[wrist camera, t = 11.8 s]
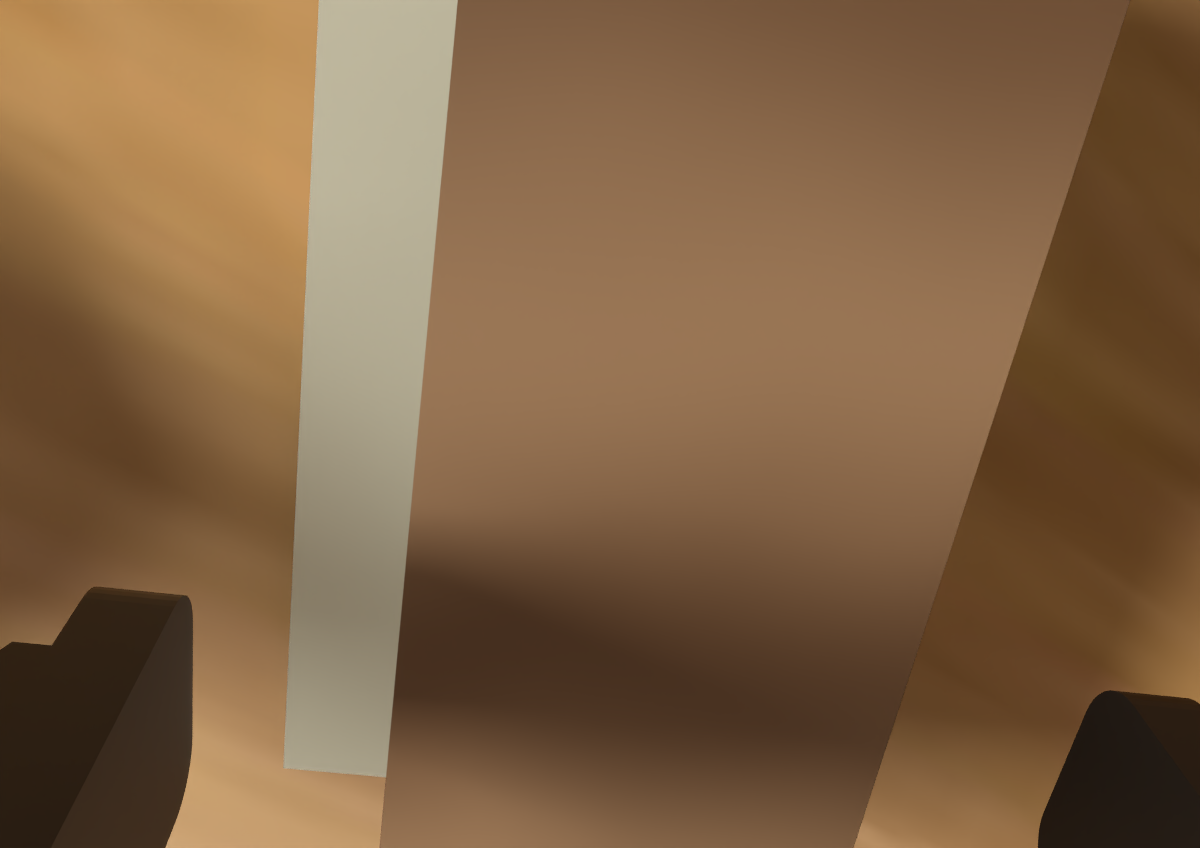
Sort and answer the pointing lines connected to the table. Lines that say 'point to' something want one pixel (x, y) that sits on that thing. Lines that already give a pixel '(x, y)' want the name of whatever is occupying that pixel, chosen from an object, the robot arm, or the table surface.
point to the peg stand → (363, 367)
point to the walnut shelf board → (710, 399)
